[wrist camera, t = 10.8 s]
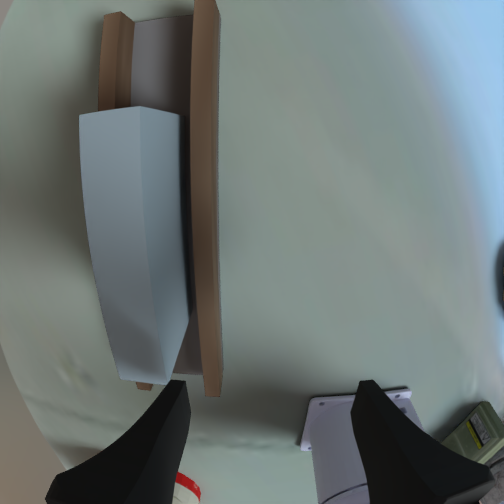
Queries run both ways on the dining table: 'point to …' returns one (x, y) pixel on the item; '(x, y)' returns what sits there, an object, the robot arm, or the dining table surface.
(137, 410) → the dining table surface
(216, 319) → the floor track
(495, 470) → the decorative orb
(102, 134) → the door panel
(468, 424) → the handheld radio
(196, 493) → the kitchen timer
